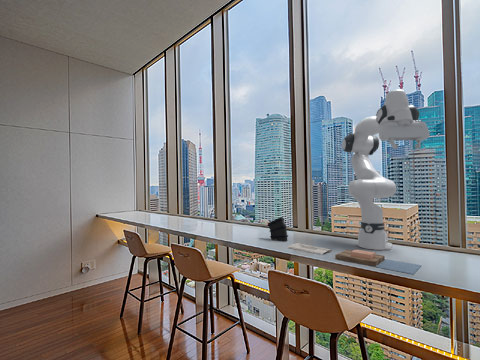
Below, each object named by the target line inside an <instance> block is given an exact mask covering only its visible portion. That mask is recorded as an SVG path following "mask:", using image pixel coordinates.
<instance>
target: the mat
mask: <svg viewBox="0 0 480 360" xmlns="http://www.w3.org/2000/svg"><path fill="white" fill-rule="evenodd" d="M421 267H422V264H419V263H417V264H416V263H411V262H410V263H409V262H405V261H399V260H393V259H385V260H384V261H383V262H381V263H380V264H378V265H377V266H375V268H377V269H383V270H388V271H392V272H397V273H403V274H407V275H413V276H414V274H416V272H418V270H419V269H420V268H421Z"/></svg>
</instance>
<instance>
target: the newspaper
mask: <svg viewBox="0 0 480 360" xmlns="http://www.w3.org/2000/svg"><path fill="white" fill-rule="evenodd" d="M286 248H287V249H291V250H295V251H300V252H306V253H310V254H315V253H316V255H320V254H321V256H323V254H325V253H332V252H333V249H331V248H325V247H320V246H316V245H309V244H304V243H300V242H296V243H295V242H294V243H292V244H290V245H288V246H287V247H286Z"/></svg>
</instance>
